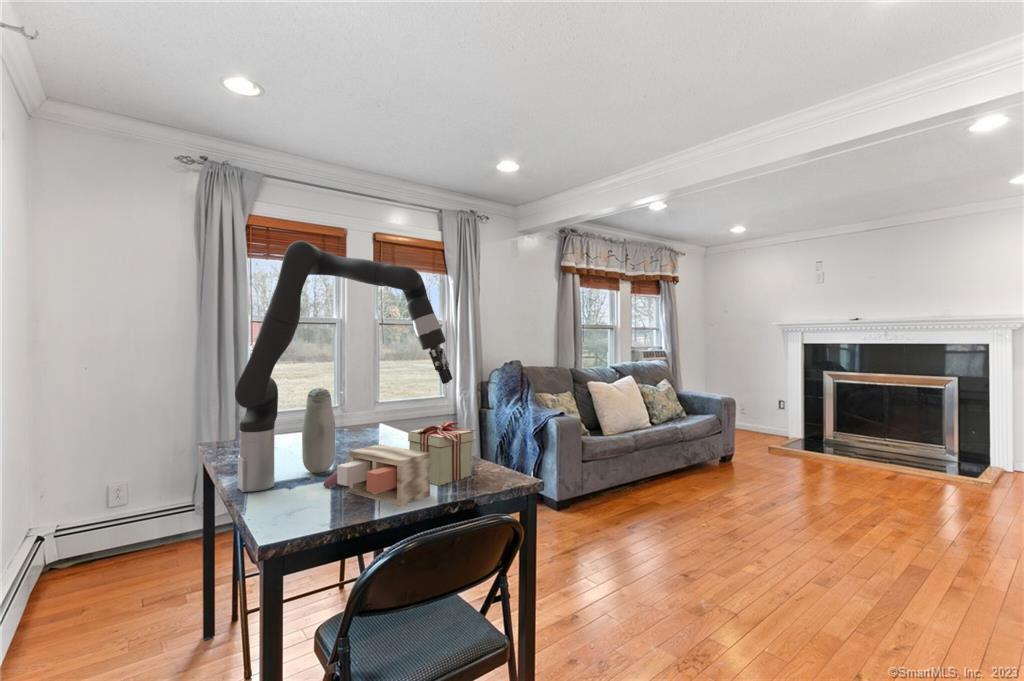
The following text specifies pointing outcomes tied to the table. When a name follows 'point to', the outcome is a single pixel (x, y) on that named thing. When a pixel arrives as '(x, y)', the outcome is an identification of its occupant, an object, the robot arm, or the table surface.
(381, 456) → the box
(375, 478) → the rust-red plug
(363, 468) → the off-white plug
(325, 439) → the off-white bottle
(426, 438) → the gift box
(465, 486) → the table surface
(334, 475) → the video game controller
